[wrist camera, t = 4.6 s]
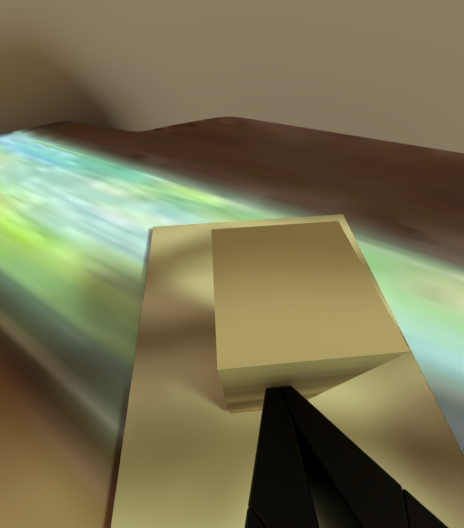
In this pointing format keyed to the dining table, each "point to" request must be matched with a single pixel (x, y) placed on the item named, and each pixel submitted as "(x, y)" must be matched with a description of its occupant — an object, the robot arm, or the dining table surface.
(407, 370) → the board
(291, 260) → the block
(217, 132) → the dining table surface
